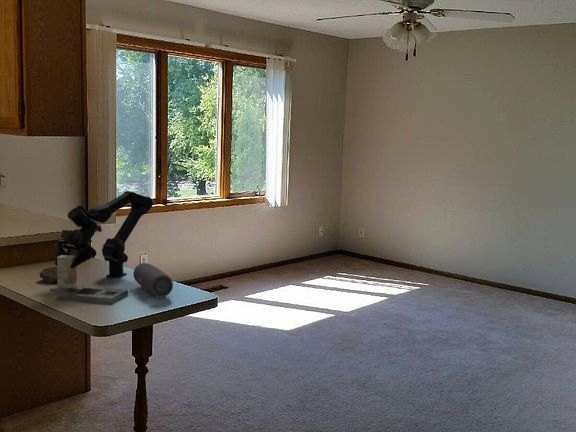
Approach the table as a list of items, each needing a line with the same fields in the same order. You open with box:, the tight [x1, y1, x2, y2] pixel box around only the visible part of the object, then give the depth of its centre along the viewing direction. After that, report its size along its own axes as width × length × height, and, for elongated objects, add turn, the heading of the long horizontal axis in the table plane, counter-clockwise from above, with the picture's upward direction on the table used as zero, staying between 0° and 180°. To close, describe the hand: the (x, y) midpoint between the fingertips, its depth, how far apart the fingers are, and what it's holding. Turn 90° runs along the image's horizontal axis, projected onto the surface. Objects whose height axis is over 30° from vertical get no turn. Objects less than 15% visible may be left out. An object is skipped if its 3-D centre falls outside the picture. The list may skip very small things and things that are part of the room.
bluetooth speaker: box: [132, 262, 174, 298], centre depth 234 cm, size 23×9×10 cm, turn 30°
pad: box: [49, 283, 85, 292], centre depth 238 cm, size 9×9×1 cm
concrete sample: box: [38, 265, 57, 284], centre depth 250 cm, size 12×10×5 cm
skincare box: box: [56, 254, 78, 288], centre depth 238 cm, size 6×4×12 cm
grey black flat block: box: [56, 285, 129, 305], centre depth 227 cm, size 12×22×2 cm, turn 77°
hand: (63, 266), depth 236 cm, fingers open, 9 cm apart
